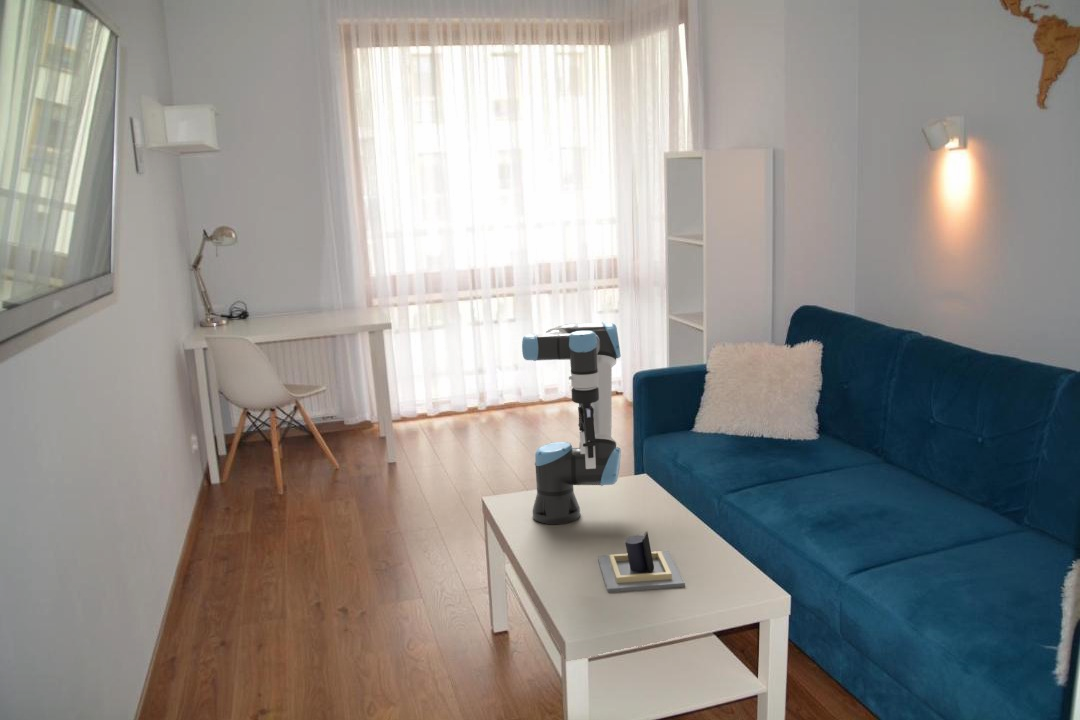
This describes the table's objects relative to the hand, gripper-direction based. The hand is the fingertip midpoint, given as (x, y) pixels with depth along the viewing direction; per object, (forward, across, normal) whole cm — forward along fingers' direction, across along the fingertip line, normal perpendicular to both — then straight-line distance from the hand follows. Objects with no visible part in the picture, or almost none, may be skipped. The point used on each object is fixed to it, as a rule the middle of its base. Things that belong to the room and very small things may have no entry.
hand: (588, 460), depth 242 cm
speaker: (+26, +17, +11) cm, 33 cm away
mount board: (+27, +17, +11) cm, 34 cm away
